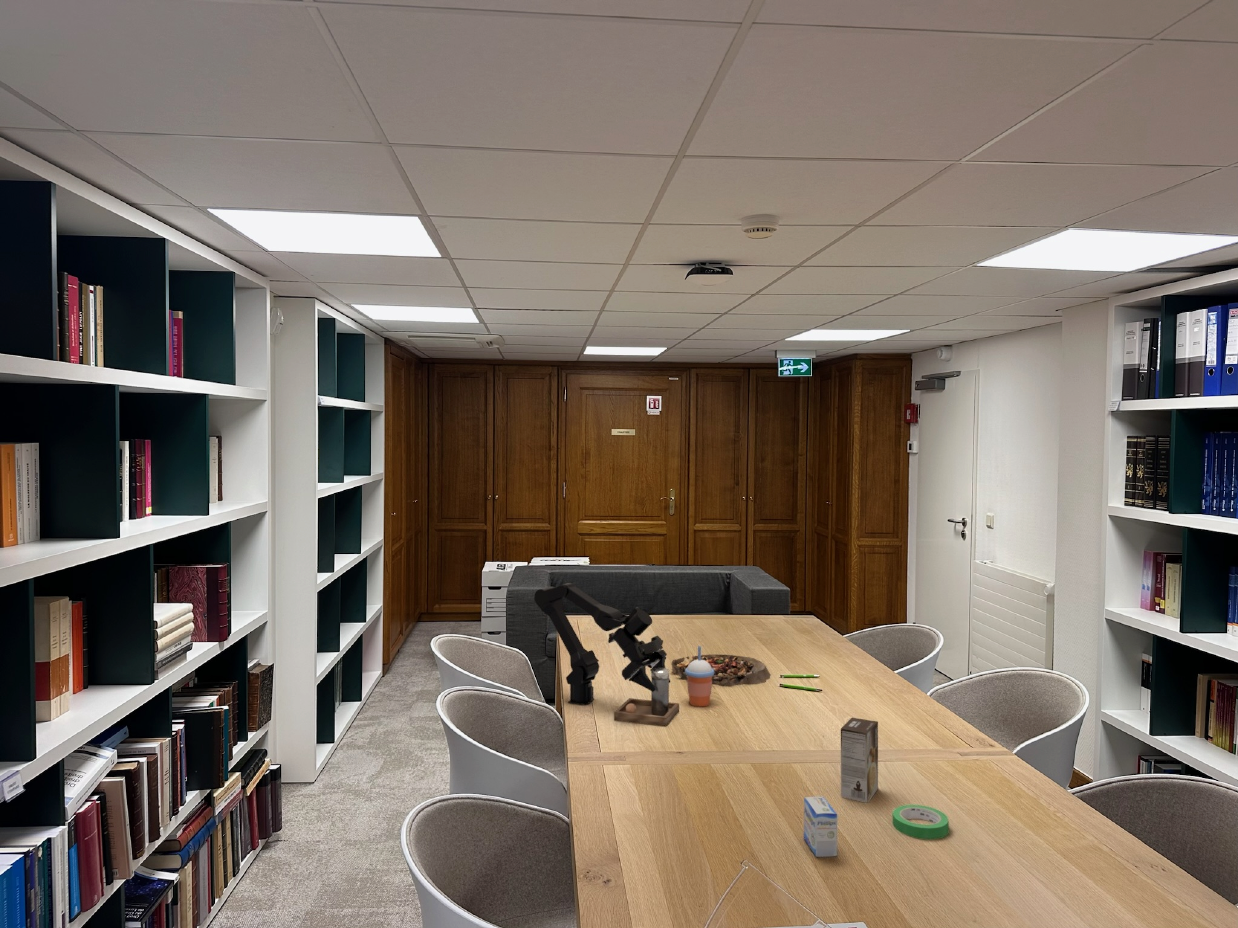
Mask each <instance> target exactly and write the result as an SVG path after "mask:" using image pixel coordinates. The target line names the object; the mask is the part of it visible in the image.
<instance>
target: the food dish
mask: <svg viewBox="0 0 1238 928" xmlns="http://www.w3.org/2000/svg"><path fill="white" fill-rule="evenodd" d="M691 657H692V659H691V660H690V656H686V657H681V658H676V659H673V660H672V661H671V662H670V663H671V671H672V673H673V674H675V675H676V676H678V677H679V679H680V680H684V681H687V675H686V674H685V669H686V668H688V665H689V664H690V663H691V662H692V661H694V660H698V655H692V656H691ZM685 658H686V659H687V660H690V661H688V662H686V663H683V662H685ZM701 660H705V661H707V662H708V663H709V664H710V666H711V668H712V669H713V670H714V675H713V676H712V685H714V686H720V687H734V686H741V685H742V686H743V685H759V684H764V683H766V682H767V680H770V678H771V675H772V674H771V673H770V672H769V670H768V668H767V666H766V664H765V663H764V662H762V661H761V660H760V659H759V660H758V659H755V658H754V657H750V656H742V655H734V654H719V653H717V654H713V653H711V654H701Z"/></svg>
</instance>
